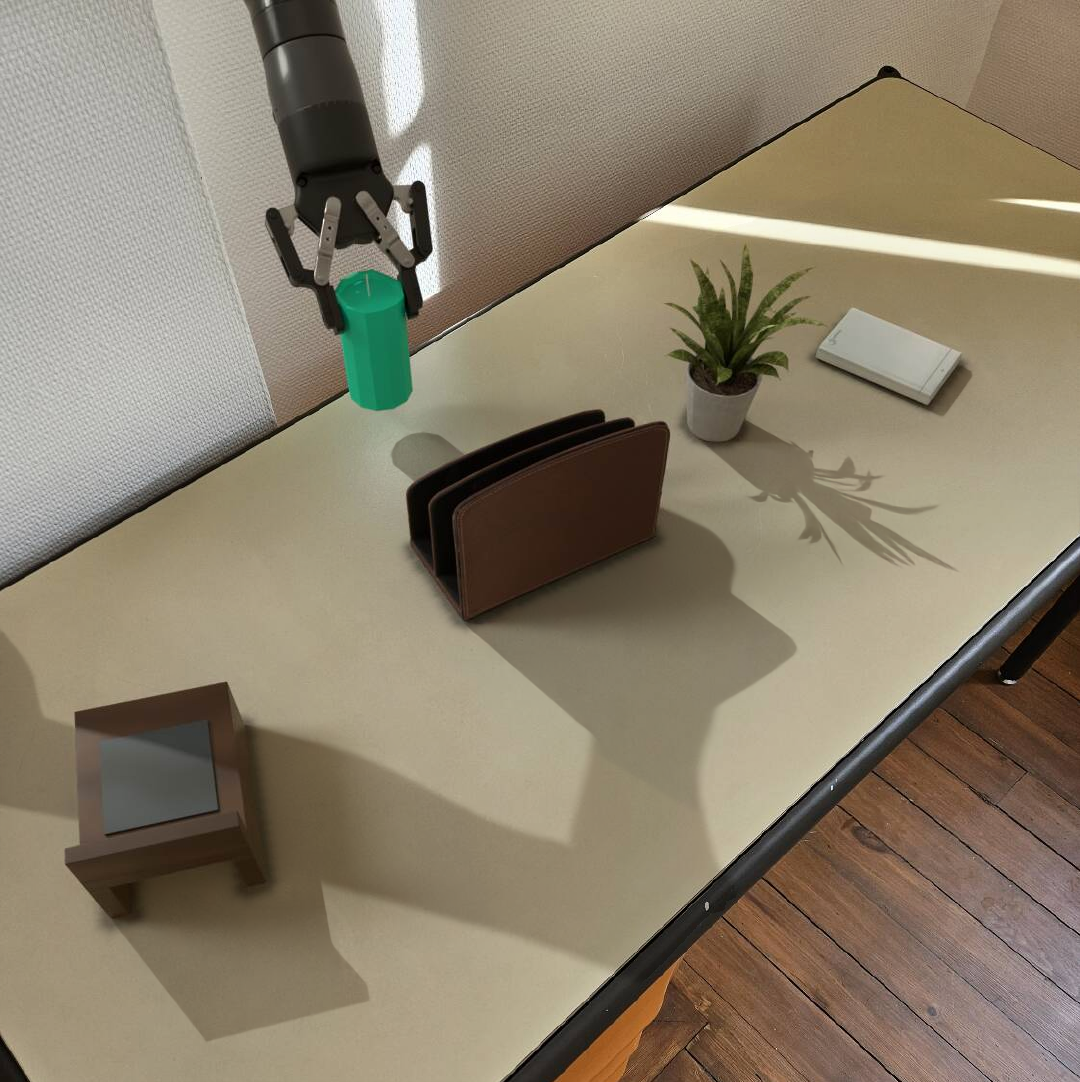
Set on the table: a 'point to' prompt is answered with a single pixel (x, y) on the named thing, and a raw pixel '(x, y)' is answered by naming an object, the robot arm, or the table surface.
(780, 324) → the house plant
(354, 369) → the candle
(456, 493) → the letter holder
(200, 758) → the wooden side table
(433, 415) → the table surface
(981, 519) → the table surface
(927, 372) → the hard drive
